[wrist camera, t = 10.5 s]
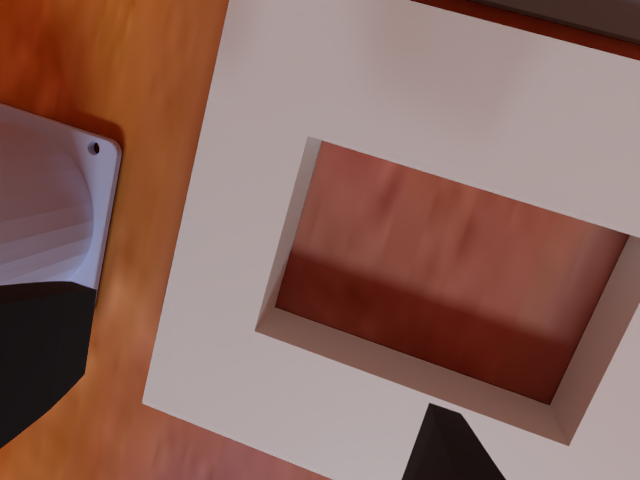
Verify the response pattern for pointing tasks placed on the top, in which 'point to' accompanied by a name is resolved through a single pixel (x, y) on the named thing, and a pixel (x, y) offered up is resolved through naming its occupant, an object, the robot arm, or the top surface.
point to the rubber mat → (582, 14)
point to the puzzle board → (422, 154)
